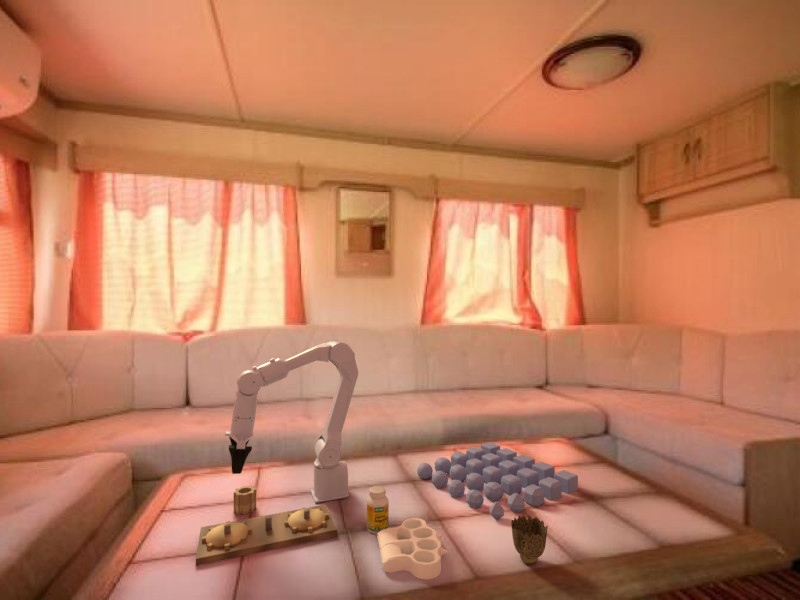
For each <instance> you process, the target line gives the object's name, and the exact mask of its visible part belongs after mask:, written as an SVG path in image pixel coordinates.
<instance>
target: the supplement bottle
mask: <svg viewBox="0 0 800 600" xmlns="http://www.w3.org/2000/svg"><path fill="white" fill-rule="evenodd" d="M368 495H369V496H367V499H366V529H367V531H368V532H369V533H371V534H374V535H377V534H378V532H380V531H381V530H384V529H387V528H390V527H389V526H390V525H389V524H390V523H389V519H390V518H389V517H390V516H389V515H390V514H389V512H390V511H389V507H390V506H389V503H390V501H389V498H388V496H386V487H384V486H382V485H374V486H371V487H370V488H369V493H368Z"/></svg>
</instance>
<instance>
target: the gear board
mask: <svg viewBox="0 0 800 600" xmlns="http://www.w3.org/2000/svg"><path fill="white" fill-rule="evenodd" d="M337 536H338V529H337V527H336V525H335V522H334V519H333V517H332V516H331V512H330V511H329V509H328V505H327V504H321V505H316V506H310V507H301V508H299V509H293V510H289V511H284V512H283V511H282V512H277V513H272V514H265V515H262V516H256V517H249V518H245V519H239V520H233V521H231V520H229V521H225V522H223V523H218V524H212V525H207V526H201V527H200V531H199V536H198V543H197V548H196V556H195V566H196V567H197V566H202V565H208V564H211V563H216V562H221V561H226V560H230V559H235V558H236V559H237V558H240V557H245V556H251V555H254V554H258V553H259V554H260V553H263V552H264V553H265V552H268V551H273V550H277V549H282V548H287V547H292V546H296V545H302V544H306V543H310V542H315V541H320V540H324V539H330V538H333V537H334V538H335V537H337Z"/></svg>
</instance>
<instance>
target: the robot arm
mask: <svg viewBox="0 0 800 600" xmlns="http://www.w3.org/2000/svg"><path fill="white" fill-rule="evenodd" d="M355 356H356V354H355V352H354V351H353V349H352V348H351V346H350V345H349V344H348V343H345V342H342V341H340V340H337V339H332V340H330V341H328V342H323V343H320V344H318V345H315V346H313V347H311V348H309V349H306V350H304V351H303V352H300V353H298V354H296V355H294V356H291V357H289V358H286V359H285V360H284V359H282V358H276V359H275V357H272V358H270V359H269V362H266V363H264V364H261V365H259V366H256V365H253V366H252V367H251V369H252V370H249V369H248V370H244V371H243V372H241V373H240V374H239V376H238V377H237V380H236V384H237V391H236V392H235V393H236V394H235V395H236V397H235V399H234V404H233V409H232V418H231V424H230V430H229V431H225V434H224V436H225V437H228V439H229V440H230V444H229V445H228V451H229V455H230V459H231V473H232V474H233V475H235V474H237V475H240V474H241V473H242V472H243V469H244V466H245V463H246V460H247V458H248V456H249V455H250V453H251V451H252V450H253V447H252V446H251V445H250V446H247V445H248V443H249V441H250V440H251V439H252V438H253V437H254V434H255V433H254V427H255V421H256V413H257V407H258V393H259V391H260V390H261V388H265V387H268V386H270V385H273V384H274V383H277V382H279V381H281V380H284V379H286V378H287V377H288V374H289V373H290V371H293V370H295V369H299V368H302V367H304V366H306V365H309V364H311V363H314V362H316V361H318V362H324V363H329V362H331V363H332V364H333V366H334V367H335V369H336V370H337V371H338V374H339V376H338V377H339V378H338V381H337V384H336V387H335V390H334V392H333V398H332V400H331V403H330V408H329V411H328V414H327V417H326V421H325V424H324V427H323V428H322V429H321V430H320V434H319V436H318V437H317V438H316V439H315V441H314V443H313V447H312V450H313V453H314V454H315V455H316V457H315V460H314V462H313V488H311V489H310V492H311V495H312V498H313V501H314V503H316V504H319V503H322V502H327V501H333V500H334V501H335V500H339V499H346V498H349V471H348V470H349V469H348V464H347V462H346V461H345V460H341V458H342V452H341V448H342V447H341V446H342V442H343V441H342V431H343V428H344V424H345V421H346V418H347V414H348V412H349V407H350V405H351V402H352V401H351V400H352V397H353V394H354V391H355V387H356V383H357V381H358V377H359V370H358V369H359V368H358V365H357V362H356V357H355Z"/></svg>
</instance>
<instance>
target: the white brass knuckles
mask: <svg viewBox="0 0 800 600" xmlns="http://www.w3.org/2000/svg"><path fill="white" fill-rule="evenodd" d="M402 521H403V522H402V523H401V525H399V526H397V527H396V526H395V527H394V526H393V527H388V528H387V529H384V530H381V531H380V532H378V534H376V535H377V536H376V538H377V542H378V547H379V548H378V549H379V554H380V559H381V565H382V570H383V571H385V572H386V573H395V572H396V573H397V572H402V571H405V572H409V573H411V574H412V576H413V577H416V578H418V579H420V580H432V579H435V578H437V577H438V576H440V574H441V572H442V565H441V564H442V563H441V562H442V556H445V554H448V553H449V551H447V550H446V549H444V548H443V547H442V541H441V540H440V539H441V538H442V535H441V536H440V535H438V532H436V531H435V529H434V528H431V527H429V526H428V525H427V521H426V520H425V519H422V518H419V517H411V518H407V519H405V520H402Z"/></svg>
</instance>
